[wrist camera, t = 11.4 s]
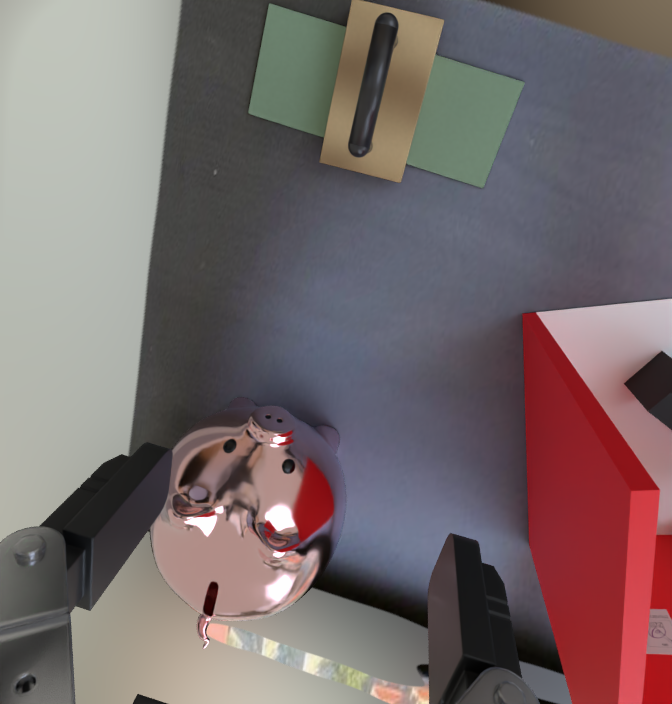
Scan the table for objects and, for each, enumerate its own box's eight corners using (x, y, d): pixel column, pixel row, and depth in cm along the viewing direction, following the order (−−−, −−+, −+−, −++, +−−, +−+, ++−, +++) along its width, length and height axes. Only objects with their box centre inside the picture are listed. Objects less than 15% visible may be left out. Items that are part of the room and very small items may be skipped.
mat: (248, 113, 37) (247, 113, 36) (269, 3, 34) (269, 3, 34) (482, 188, 36) (483, 188, 36) (524, 82, 33) (524, 82, 33)
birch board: (401, 181, 36) (397, 187, 31) (322, 161, 37) (304, 163, 31) (443, 24, 32) (448, -2, 27) (354, 4, 33) (340, -27, 27)
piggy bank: (382, 398, 44) (362, 524, 29) (326, 545, 51) (288, 704, 36) (218, 343, 44) (117, 439, 29) (186, 495, 51) (92, 633, 37)
